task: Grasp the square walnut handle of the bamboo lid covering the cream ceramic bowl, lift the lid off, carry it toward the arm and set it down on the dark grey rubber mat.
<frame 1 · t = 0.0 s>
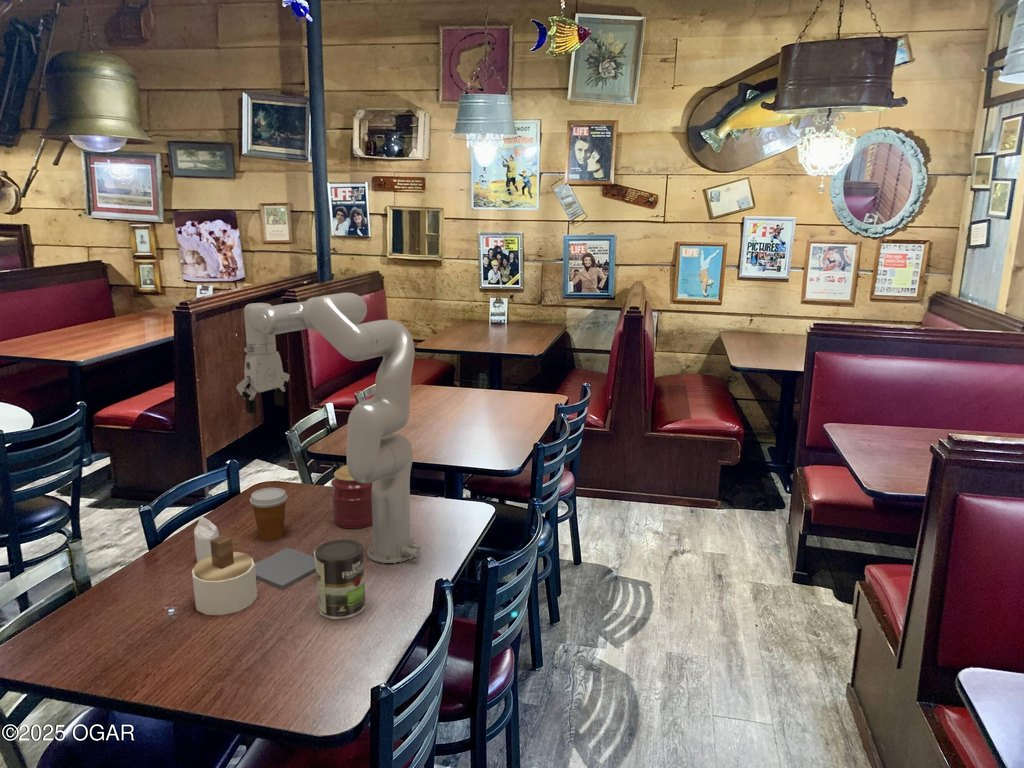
hand: (265, 409, 206), 31 cm above the table, tool pointing down, fingers open, 9 cm apart
canister: (356, 520, 209), on the table
lid: (223, 567, 165), point 8 cm above the table, touching bowl
disposable coffee cup: (271, 535, 199), on the table
mat: (285, 569, 181), on the table
coffee can: (342, 608, 164), on the table
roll: (208, 560, 185), on the table
bowl: (226, 599, 167), on the table
shot glass: (329, 578, 177), on the table
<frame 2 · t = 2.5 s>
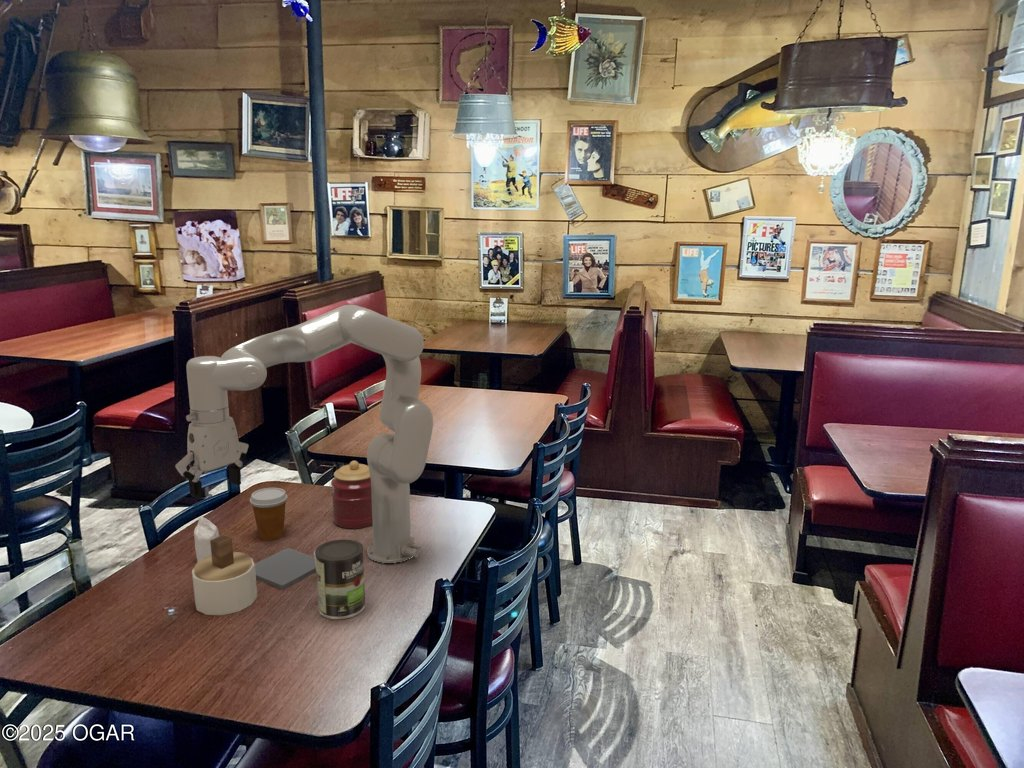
hand: (216, 490, 161), 26 cm above the table, tool pointing down, fingers open, 9 cm apart
nothing on the table moved.
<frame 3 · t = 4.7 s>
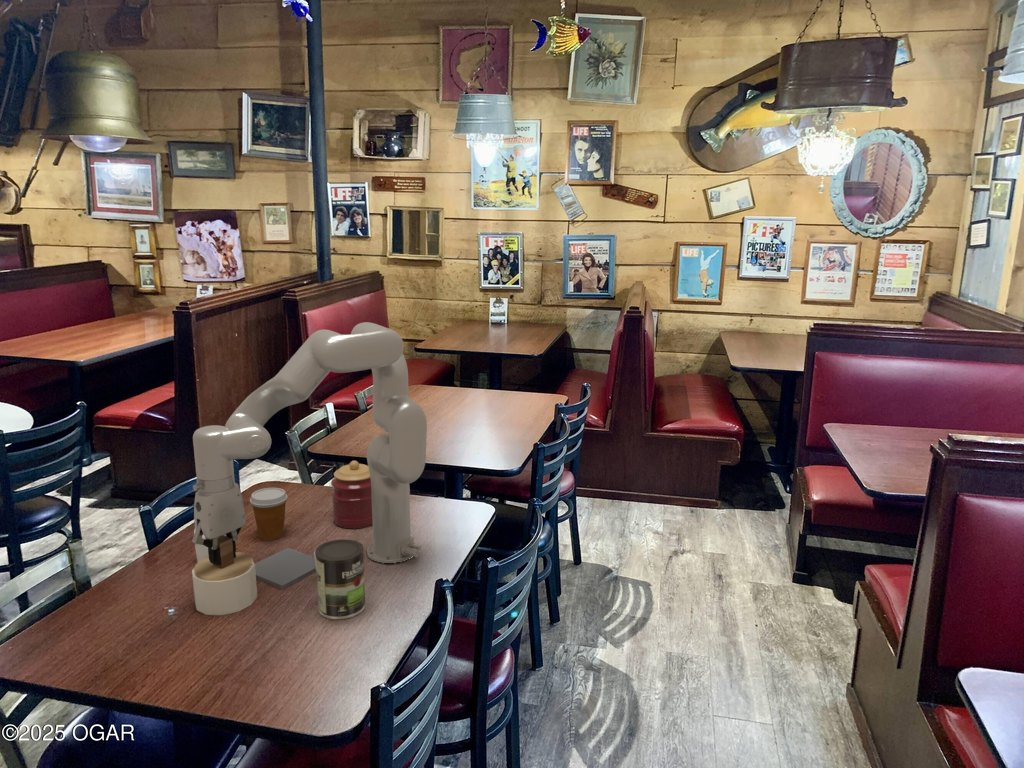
hand: (223, 559, 164), 10 cm above the table, tool pointing down, fingers closed on lid, 3 cm apart
lid: (223, 567, 165), point 8 cm above the table, touching bowl, gripper
everything else where it was.
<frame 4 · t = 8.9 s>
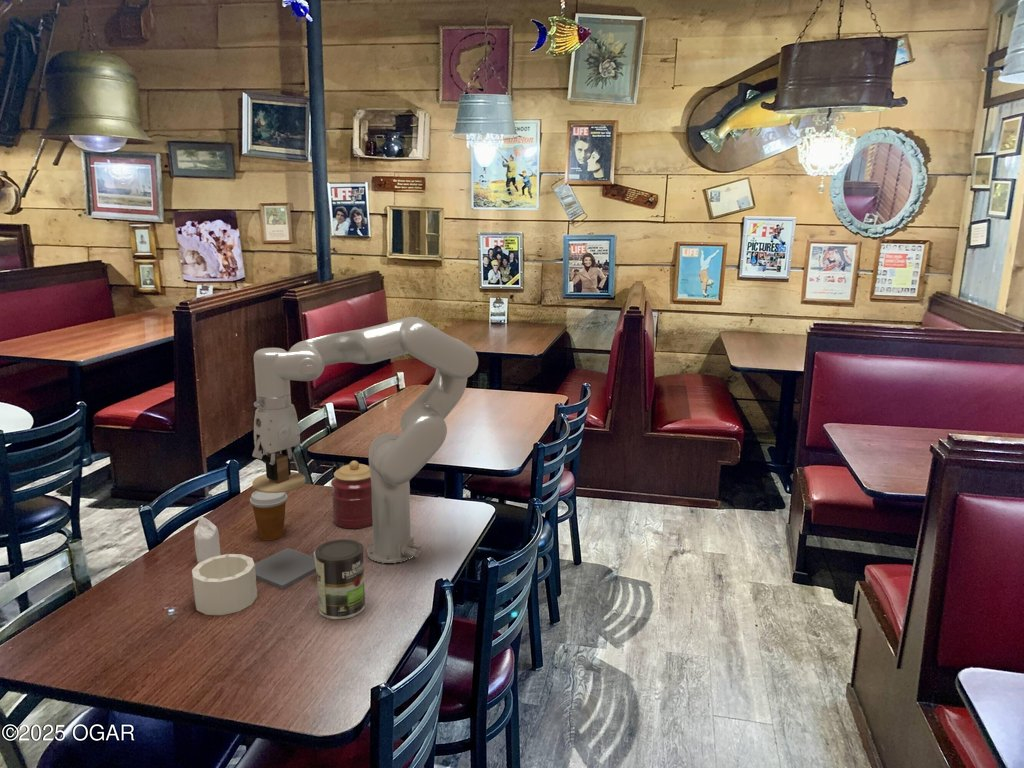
hand: (278, 475, 175), 24 cm above the table, tool pointing down, fingers closed on lid, 3 cm apart
lid: (279, 483, 175), point 22 cm above the table, touching gripper
everything else where it was.
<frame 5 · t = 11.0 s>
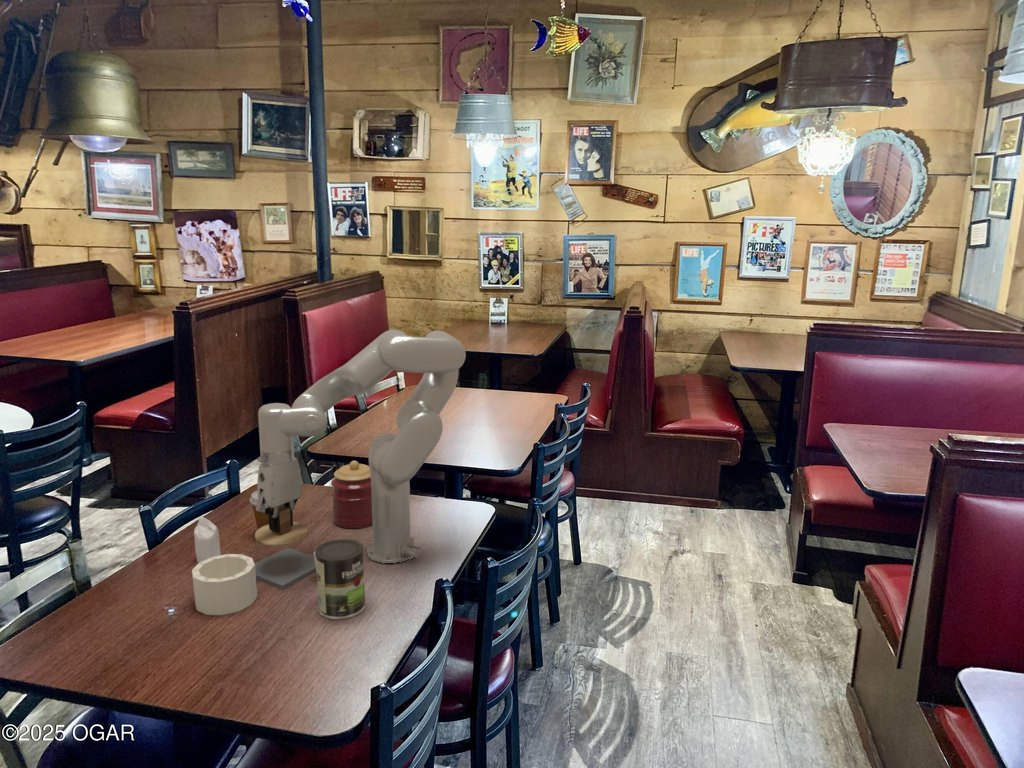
hand: (281, 527, 178), 11 cm above the table, tool pointing down, fingers closed on lid, 3 cm apart
lid: (281, 534, 179), point 9 cm above the table, touching gripper
everything else where it was.
when the fingers open (5 cm above the table, at t = 13.0 s): lid drops 2 cm, resting on mat.
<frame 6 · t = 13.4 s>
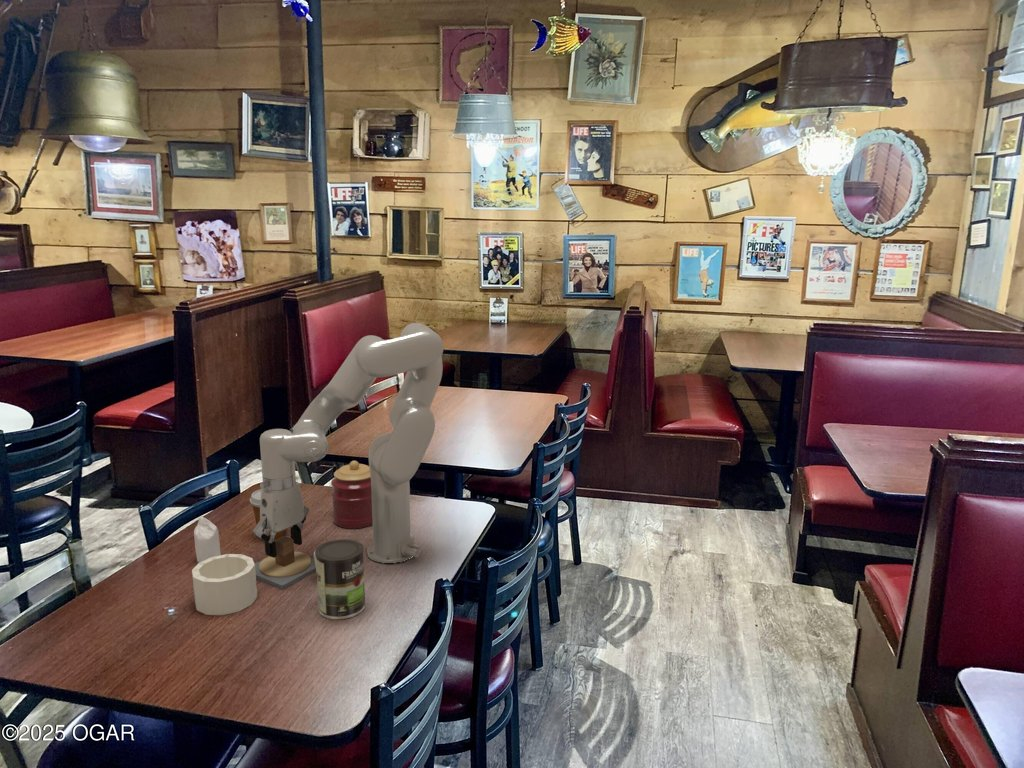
hand: (284, 549, 180), 5 cm above the table, tool pointing down, fingers open, 7 cm apart
lid: (285, 565, 181), point 1 cm above the table, touching mat
everything else where it was.
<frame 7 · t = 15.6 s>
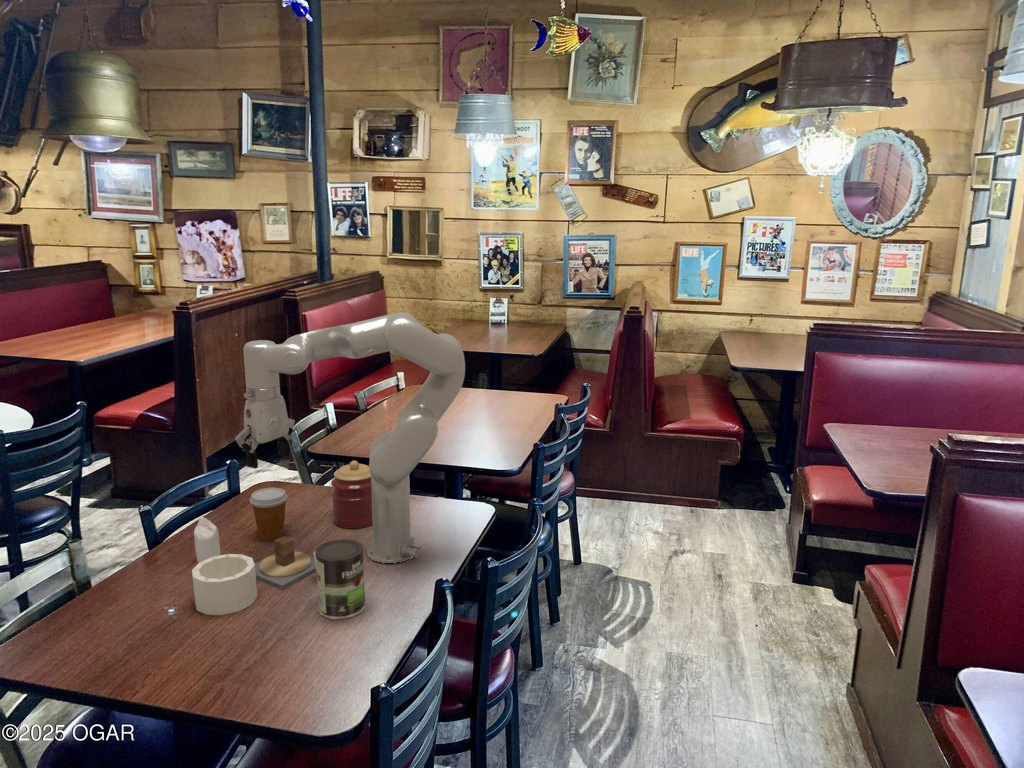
hand: (268, 461, 179), 26 cm above the table, tool pointing down, fingers open, 9 cm apart
nothing on the table moved.
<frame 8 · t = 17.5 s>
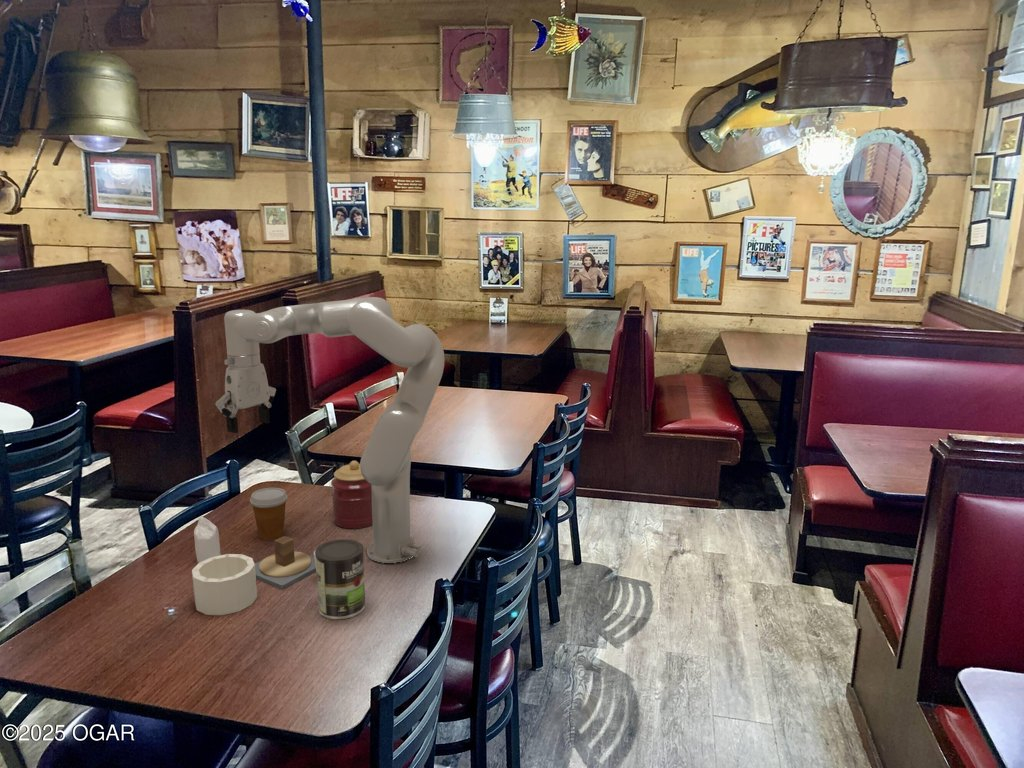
hand: (249, 427, 185), 32 cm above the table, tool pointing down, fingers open, 9 cm apart
nothing on the table moved.
at the end: lid inside the target area on the mat (0.1 cm from its centre), point 1.0 cm above the mat's base; lid touching mat; lid tilted 0° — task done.
